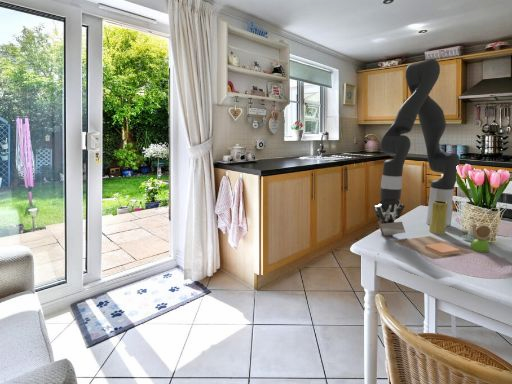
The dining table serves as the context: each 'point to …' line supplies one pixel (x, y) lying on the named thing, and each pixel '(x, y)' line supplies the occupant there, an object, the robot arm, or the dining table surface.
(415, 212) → the dining table surface
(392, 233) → the wooden stamp block
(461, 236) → the pacifier
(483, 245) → the snail figurine
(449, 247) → the tile
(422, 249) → the board
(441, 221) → the vase
